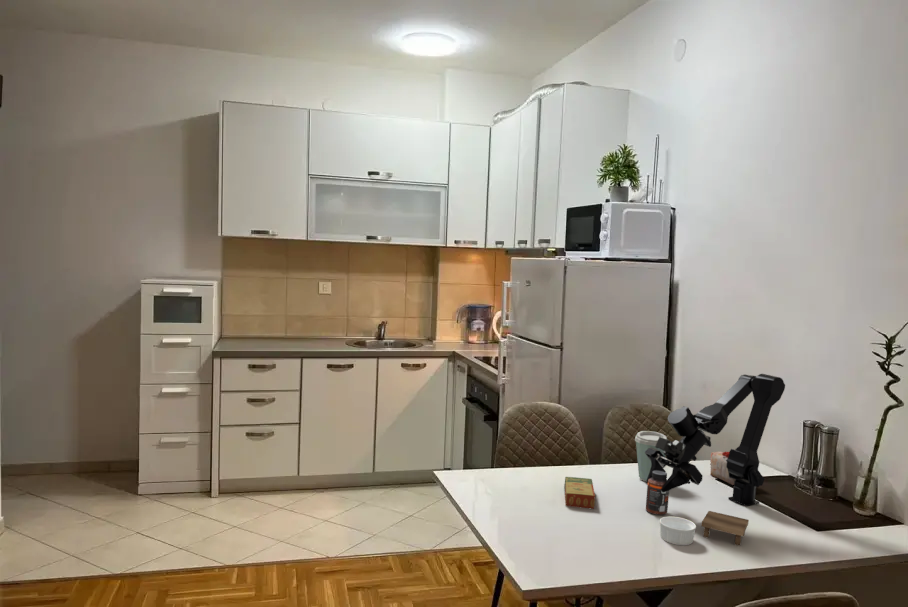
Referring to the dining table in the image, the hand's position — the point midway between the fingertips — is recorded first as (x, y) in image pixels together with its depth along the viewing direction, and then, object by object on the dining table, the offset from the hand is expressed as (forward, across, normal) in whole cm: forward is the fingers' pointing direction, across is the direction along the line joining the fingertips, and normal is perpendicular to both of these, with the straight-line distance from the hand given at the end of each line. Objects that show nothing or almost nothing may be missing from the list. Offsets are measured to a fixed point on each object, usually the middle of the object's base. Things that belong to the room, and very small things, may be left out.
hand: (654, 487), depth 192 cm
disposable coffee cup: (-8, -24, +18) cm, 31 cm away
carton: (+16, -15, -5) cm, 22 cm away
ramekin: (+10, +17, +1) cm, 20 cm away
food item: (-28, -18, +38) cm, 50 cm away
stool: (0, +19, +10) cm, 22 cm away
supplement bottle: (+4, 0, +6) cm, 7 cm away
